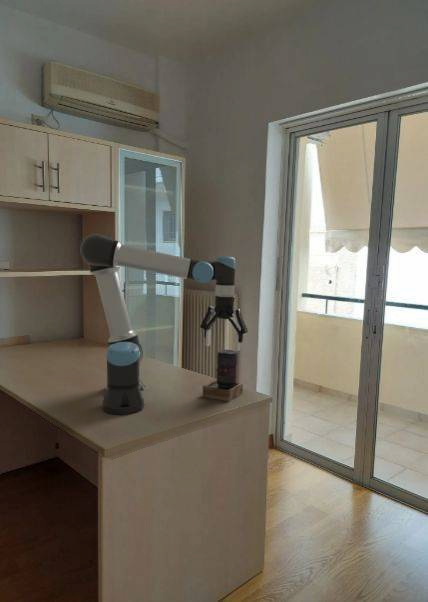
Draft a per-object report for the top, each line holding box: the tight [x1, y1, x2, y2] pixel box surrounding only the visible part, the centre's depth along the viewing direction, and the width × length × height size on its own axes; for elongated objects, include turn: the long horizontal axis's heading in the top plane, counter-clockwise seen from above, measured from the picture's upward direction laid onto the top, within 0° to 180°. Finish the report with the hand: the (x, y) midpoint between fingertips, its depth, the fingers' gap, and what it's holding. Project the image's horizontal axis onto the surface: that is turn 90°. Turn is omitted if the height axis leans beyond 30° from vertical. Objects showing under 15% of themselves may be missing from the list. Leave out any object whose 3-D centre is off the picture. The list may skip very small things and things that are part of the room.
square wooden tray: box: [202, 378, 244, 402], centre depth 181 cm, size 12×12×4 cm
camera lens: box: [216, 349, 238, 390], centre depth 179 cm, size 8×8×15 cm
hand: (222, 348), depth 179 cm, fingers open, 13 cm apart
